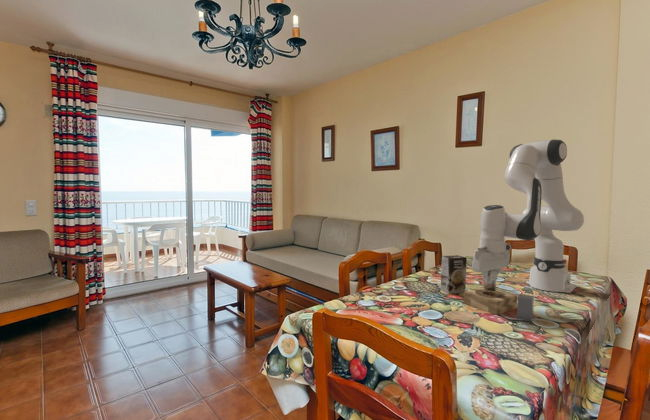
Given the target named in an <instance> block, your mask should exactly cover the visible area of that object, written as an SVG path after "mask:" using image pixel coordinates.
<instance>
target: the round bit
mask: <svg viewBox="0 0 650 420" xmlns="http://www.w3.org/2000/svg"><path fill="white" fill-rule="evenodd" d="M487 274H488V277H489V281H488V282H485V281H483V283H484V284H483V287H484V289H485V290H488V291H496V290H497V280H496V275H497V270H490V271H488V273H487Z"/></svg>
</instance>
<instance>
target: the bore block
mask: <svg viewBox="0 0 650 420" xmlns="http://www.w3.org/2000/svg"><path fill="white" fill-rule="evenodd" d="M462 296H463V300H462V301H463V302H462V303H463V305H466V306H469V307H472V308H474V309H477V310H481V311H483V312H486V313H490V314H492V315H496V316H498V315H500V314H504V313H506V312H510V311H513V310H516V309H517V303H518V295H516V294H514V293H509V292H505V291H501V290H498V289H496V291H488V290H485V289H484V286H480V287H477V288H474V289H468V290H465V292H463V295H462Z"/></svg>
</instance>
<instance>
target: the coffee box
mask: <svg viewBox="0 0 650 420" xmlns="http://www.w3.org/2000/svg"><path fill="white" fill-rule="evenodd" d="M467 260H468V259H467V257H466V256H462V255H441V270H440V291H442V292H444V293H446V294H449V295H450V294H462V293H463V294H464V292H465V291H466V284H467V283H466V282H467V280H466V279H467Z"/></svg>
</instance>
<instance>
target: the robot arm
mask: <svg viewBox="0 0 650 420" xmlns="http://www.w3.org/2000/svg"><path fill="white" fill-rule="evenodd" d="M567 154H568V149H567V144H566V142H565V141H563V140H562V139H549V140H548V139H547V140H536V141H534V142H533V141H532V142H527V143H520V144H517V145H515V146H513V147H512V148H511V150H510V151H509V160H508V162H507V165H506V168H505V172H504V180H505V183H506V184H507V185H508V186H509V187H510V188H512V189H513V190H516V191H519V192H521V193H523V194H526V207H525V209H523V211H522V214H521V213H520V214H519V213H518V214H517V213H507V212H506V211H505V207H504V206H503V205H500V204H499V205H498V204H492V205H487V206H484V207H483V208H482V211H481V214H480V226H479V227H480V236H479V244H478V245H479V247H477V249H476V250H475V251H474V253H473V257H472V265H471V269H472V271H473V272H477V273H481V275H482V282H484V281H485V282H488V281H489V277H488V274H487V273H488V271H490V270H497V275H496V281H497V280H498V277H499V274H500V272H501V271H500V270H501V269H504V268H505V269H506V268H508V267H509V266H510V265H509V264H510V260H511V259H510V258H511V252H510V251H511V249H512V245H511V244H509V243H508V242H506V241H505V240H506V239H505V238H510V239H511V238H512V239H518V240H522V241H526V242H527V241H528V242H530V241H533V240H534V242H535V243H534V244H535V251H534V252H535V255H534V257H533V264H534V265H533V266H531V267H530V270H529V280H526V283H525V284H527V285H529V286H530V287H532V288H534V289H537V290H541V291H547V292H553V293H567V294H569V293H570V294H571V293H572V292H574V290H575V289H576V288H577V284H575V283H572V282H571V281H572V276H571V273H570V272H569V271H568V270H567V269H566V265H567V262H568V260H567V259H564V249H565V245H564V243H563V241H562V240H561V239H559V238H557V237H556V236H555V234H554V233H553V231H559V232H562V231H563V232H573V231H578V230H579V229H581V228H582V227H583V225H584V223H585V217H584V214H583V212H582V211H581V210H580V209H578V208H577V207H575V206H574V205H573V204H572V203H571V202H570V201H569V199H568V197H567V196H566V193H565V186H564V177H563V169H562V164H561V163H563V162H564V161H565V159H566V158H567ZM542 201H543V202H544V203H545V204H546V205H547V206H544V205H543V206H542Z"/></svg>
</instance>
